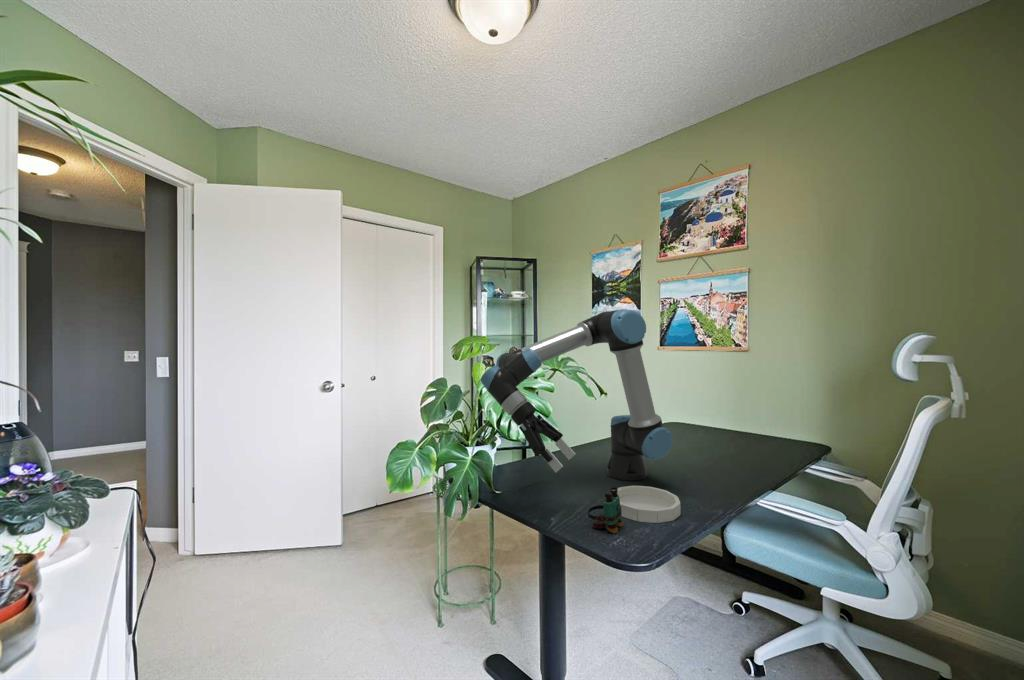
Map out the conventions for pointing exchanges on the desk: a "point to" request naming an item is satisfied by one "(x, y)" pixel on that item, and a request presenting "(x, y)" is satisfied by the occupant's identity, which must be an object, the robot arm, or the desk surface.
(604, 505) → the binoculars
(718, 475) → the desk surface
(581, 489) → the desk surface
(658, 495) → the dish
